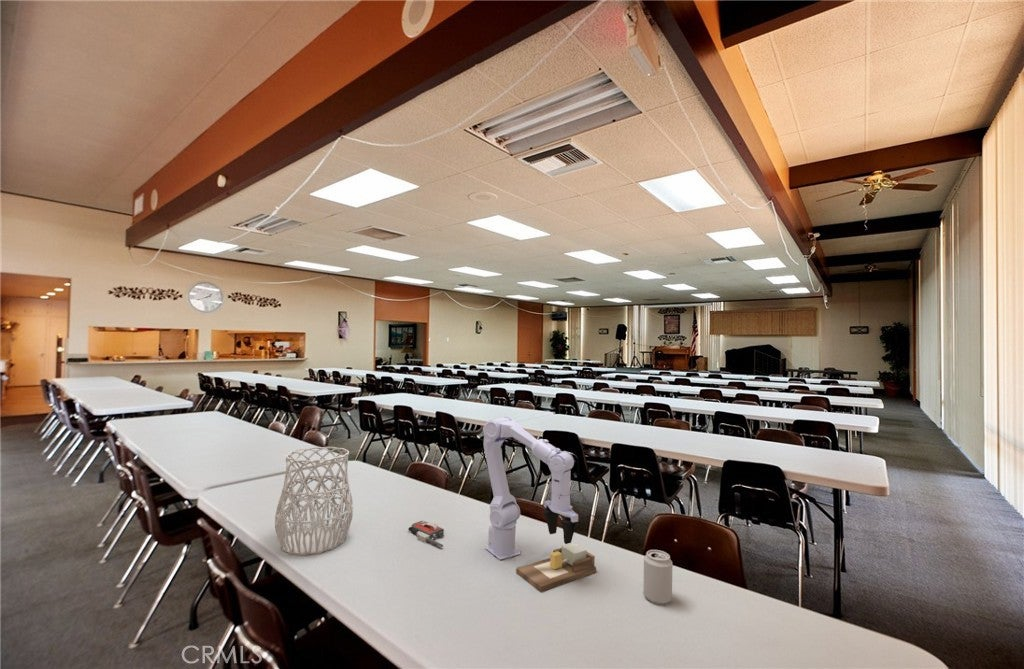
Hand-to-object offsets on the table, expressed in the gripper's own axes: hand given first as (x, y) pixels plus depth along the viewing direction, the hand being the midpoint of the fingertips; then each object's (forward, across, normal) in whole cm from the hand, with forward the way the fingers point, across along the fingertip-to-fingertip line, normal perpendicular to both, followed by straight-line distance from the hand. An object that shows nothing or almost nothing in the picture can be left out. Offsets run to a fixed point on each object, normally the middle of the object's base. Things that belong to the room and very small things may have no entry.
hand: (560, 538), depth 132 cm
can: (+11, -24, -16) cm, 30 cm away
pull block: (+9, +1, -3) cm, 9 cm away
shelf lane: (+10, +1, +1) cm, 11 cm away
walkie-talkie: (+11, +41, +26) cm, 50 cm away
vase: (+10, +56, +62) cm, 84 cm away
